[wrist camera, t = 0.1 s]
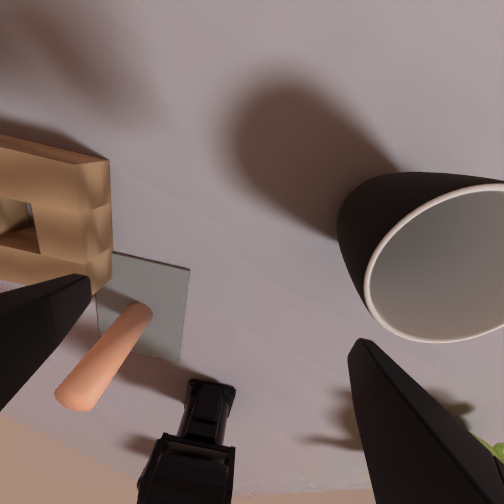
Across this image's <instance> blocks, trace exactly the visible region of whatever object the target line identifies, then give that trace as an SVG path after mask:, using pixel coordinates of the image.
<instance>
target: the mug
mask: <svg viewBox="0 0 504 504" xmlns="http://www.w3.org/2000/svg"><path fill="white" fill-rule="evenodd" d="M337 237H338V242H339V246H340V250H341V253H342V256H343V259H344V262H345V264H346V267H347V270H348V272H349V274H350V277H351V279H352V281H353V283H354V286H355V288H356V290H357V292H358V294H359V295H360V297H361V299H362V301H363V303H364V305H365V306H366V308H367V310H368V311H369V312H370V314H371V315H372V317H373V318H374V319H375V320H376V321H377V322H378V323H379V324H380V325H381V326H382V327H383V328H385V329H386V330H388V331H389V332H391V333H393V334H395V335H397V336H399V337H402V338H405V339H408V340H413V341H418V342H424V343H449V342H457V341H462V340H467V339H471V338H475V337H478V336H481V335H484V334H487V333H490V332H492V331H494V330H497V329H499V328H501V327H503V326H504V181H501V180H496V179H490V178H483V177H475V176H468V175H459V174H448V173H431V172H403V173H393V174H386V175H382V176H378V177H375V178H373V179H370V180H368V181H366V182H364V183H363V184H361V185H359V186H358V187H357V188H356V189H354V190H353V191H352V192H351V193H350V194H349V195H348V197H347V198H346V199H345V201H344V202H343V204H342V206H341V208H340V211H339V214H338V218H337Z"/></svg>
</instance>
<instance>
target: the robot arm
mask: <svg viewBox="0 0 504 504" xmlns="http://www.w3.org/2000/svg"><path fill="white" fill-rule="evenodd" d="M91 299H92V291H91V280H90V278H89V276H87V275H83V274H78V273H73V274H69V275H66V276H62V277H58V278H54V279H51V280H47V281H43V282H40V283H36V284H32V285H29V286H25V287H21V288H18V289H14V290H10V291H7V292H3V293H0V411H1V410H2V409H3V408H4V407H5V406H6V404H7V403H8V402H9V401H10V400H11V399H12V398H13V397H14V395H15V394H16V393H17V392H18V391H19V390H20V389H21V388H22V386H23V385H24V384H25V383H26V382H27V381H28V380H29V379H30V377H31V376H32V375H33V374H34V373H35V372H36V371H37V369H38V368H39V367H40V366H41V365H42V364H43V363H44V362H45V360H46V359H47V358H48V357H49V356H50V355H51V354H52V353H53V351H54V350H55V349H56V348H57V347H58V346H59V344H60V343H61V342H62V340H63V339H64V338H65V337H66V335H67V334H68V332H69V331H70V330H71V328H72V327H73V326H74V324H75V323H76V321H77V320H78V319H79V317H80V316H81V315H82V313H83V312H84V310H85V309H86V308H87V306H88V305H89V304H90V302H91ZM347 361H348V369H349V377H350V384H351V391H352V399H353V405H354V411H355V415H356V420H357V424H358V428H359V433H360V437H361V441H362V445H363V450H364V454H365V458H366V462H367V467H368V471H369V475H370V479H371V484H372V488H373V492H374V496H375V500H376V504H504V463H502V462H501V461H500V460H499V459H498V458H497V457H496V456H494V455H492V453H491V451H490V450H489V449H487V448H486V447H485V446H484V445H483V444H482V443H481V442H480V441H479V440H478V439H477V438H476V437H475V436H474V435H472V434H471V433H470V432H469V431H468V430H467V429H466V428H465V427H464V426H463V425H462V424H461V423H460V422H459V421H457V420H456V419H455V418H454V417H453V416H452V415H451V414H450V413H449V412H448V411H447V410H446V409H445V408H444V407H442V406H441V405H440V404H439V403H438V402H437V401H436V400H435V399H434V398H433V397H432V396H431V395H430V394H429V393H428V392H426V391H425V390H424V389H423V388H422V387H421V386H420V385H419V384H418V383H417V382H416V381H415V380H414V379H413V378H411V377H410V376H409V375H408V374H407V373H406V372H405V371H404V370H403V369H402V368H401V367H400V366H399V365H398V364H396V363H395V362H394V361H393V360H392V359H391V358H390V357H389V356H388V355H387V354H386V353H385V352H384V351H383V350H381V349H380V348H379V347H378V346H377V345H376V344H375V343H374V342H373V341H371V340H368V339H363V338H359V339H357V341H356V342H355V344H354V346H353V347H352V349H351V351H350V352H349V354H348V360H347ZM235 394H236V390H235V389H234V388H230V387H225V386H221V385H216V384H212V383H207V382H202V381H198V380H193V379H191V380H189V382H188V387H187V393H186V399H185V405H184V409H185V410H184V414H183V417H182V420H181V423H180V426H179V429H178V432H177V435H176V436H174V435H170V434H168V433H165V432H164V433H163V435H162V437H161V438H160V439H157V441H156V444H155V446H154V449H153V451H152V454H151V456H150V458H149V460H148V462H147V464H146V466H145V468H144V470H143V472H142V474H141V476H140V478H139V480H138V482H137V489H138V492H139V493H138V501H137V504H231V498H232V490H233V477H234V462H235V447H232V446H231V447H228V446H223V441H224V434H225V428H226V422H227V418H228V417H229V414H230V410H231V407H232V404H233V401H234V398H235Z"/></svg>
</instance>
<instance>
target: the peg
mask: <svg viewBox="0 0 504 504" xmlns="http://www.w3.org/2000/svg"><path fill="white" fill-rule="evenodd" d="M152 317H153V313H152V310H151V309H150V308H149V307H148V306H147V305H145V304H144V303H141V302H133V303H130V304H129V305H128V306H127V307H126V309H125V310H124V311H123V312H122V313H121V314H120V316H119V317H118V318H117V319H116V320H115V321H114V323H113V324H112V325H111V326H110V327H109V328H108V330H107V331H106V332H105V333H104V334H103V335H102V337H101V338H100V339H99V340H98V341H97V342H96V344H95V345H94V346H93V347H92V348H91V349H90V351H89V352H88V353H87V354H86V355H85V356H84V358H83V359H82V360H81V361H80V362H79V363H78V365H77V366H76V367H75V368H74V369H73V370H72V372H71V373H70V374H69V375H68V376H67V377H66V378H65V380H64V381H63V382H62V383H61V384H60V385H59V387H58V388H57V389H56V390H55V392H54V395H55V398H56V399H57V401H58V402H59V403H60V404H62V405H63V406H65V407H67V408H69V409H71V410H75V411H81V412H84V411H89V410H91V409H92V408H93V407H94V405H95V404H96V402H97V401H98V399H99V398H100V396H101V395H102V393H103V392H104V390H105V389H106V387H107V386H108V384H109V383H110V381H111V380H112V378H113V377H114V375H115V374H116V372H117V371H118V369H119V368H120V366H121V365H122V363H123V362H124V360H125V358H126V357H127V355H128V354H129V352H130V351H131V349H132V348H133V346H134V345H135V343H136V342H137V340H138V339H139V337H140V336H141V334H142V333H143V331H144V330H145V328H146V327H147V325H148V324H149V322H150V321H151V319H152Z"/></svg>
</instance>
